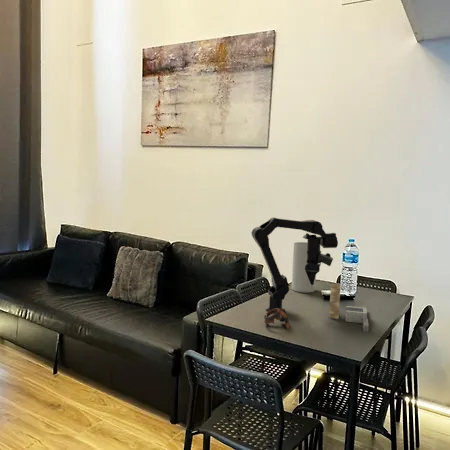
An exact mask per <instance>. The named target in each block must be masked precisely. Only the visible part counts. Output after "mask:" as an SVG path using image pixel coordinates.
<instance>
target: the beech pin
mask: <svg viewBox="0 0 450 450" xmlns="http://www.w3.org/2000/svg"><path fill="white" fill-rule="evenodd" d="M341 288H342V287H341V284H336V283H335V284H334V283H333V284H332V283H331V284H330V297H329V307H328V308H329V311H328V313H329V314H328V318H329V319H335V320H339V316H340V315H339V314H340V300H341Z"/></svg>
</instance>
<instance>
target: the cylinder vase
mask: <svg viewBox="0 0 450 450" xmlns="http://www.w3.org/2000/svg"><path fill="white" fill-rule="evenodd" d="M292 252H293V253H292V275H291V290H293V291H294V292H297V293H302V294H305V293H306V294H310V293H313V292H315V291H316V285H317V284H316V281H317V280H316V279H317V275H316V276H315V280H314V285H311V284H310V281H309V278H308V276H307V274H306V272H305V265H306V264H307V242H305V241H301V242H298V241H297V242H293V251H292Z"/></svg>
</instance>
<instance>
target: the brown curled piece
mask: <svg viewBox="0 0 450 450" xmlns="http://www.w3.org/2000/svg"><path fill="white" fill-rule="evenodd" d="M275 312H276V313H275ZM263 318H264V323H265V324H266V325H268V324H273V325H274V324H275V320H277V321H279V322H282V323H284V324H285V327H286V328H285V329H286V330H288V329H290V321H289V318H288V316H287V311H286V309H285V308H284V307H282V309H279V308H275V309H272V310H270V311H267V312H266V314H264V315H263Z"/></svg>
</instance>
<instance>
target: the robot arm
mask: <svg viewBox="0 0 450 450" xmlns="http://www.w3.org/2000/svg"><path fill="white" fill-rule="evenodd" d="M277 228H282V229H293V230H299V231H304V232H306V233H305V234H304V235H303V236H302V238H303V239H305V240H307V264H306V265H305V272H306V274H307V276H308V278H309V281H310V284H311V285H314V280H315V276H316V277H317V274H319V272H320V270H321V269H320V268H321V265H322V264H324V265H326V266H328V267H330V266H332V263H333V260H334V258H333V257H332V256H331V253H330V252H329V253H328V252H326V253H325V254H323V253H322V250H321V247H322V248H323V249H337V247H338V245H339V241H338V237H337V233H336V232H328V233H327V232H326V231H325V230H324V228H323V224H322V223H321V221H320V222H319V221H316V220H314V219H307V220H295V219H292V220H291V219H285V218H277V217H271V218H270V219H268V220H266V221H265V222H263V223H261V224H260V225H259V226H256V227H254V228H253V229H252V230H251V237H252V239H253V241H254V242H255V243H256V244H257V246H258V247H259V249H260V251H261V254H262V257H263V259H264V260H265V263H266V266H267V268H268V271H269V273H270V276H271V284H272V285H271V287H269V289H268V290H267V293H268V295H269V301H268V302H269V305H268V308H266V309H265V311H267V312H269V311H270V310H272V309H275V308H279V309H282V308H283V301H284V300H285V298H286V295H287V294H288V293H289V290H290V284H289V282H288V278H287V276H285V275H284V274H281V272H280V269H279V267H278V265H277V262H276V259H275V257H274V254H273V253H272V249H271V247H270V242H269V241H270V239H269V236H270V234H272V233H273V231H275V229H277ZM317 235H318V236H317ZM275 313H276V312H275ZM275 313H274V314H275Z"/></svg>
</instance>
